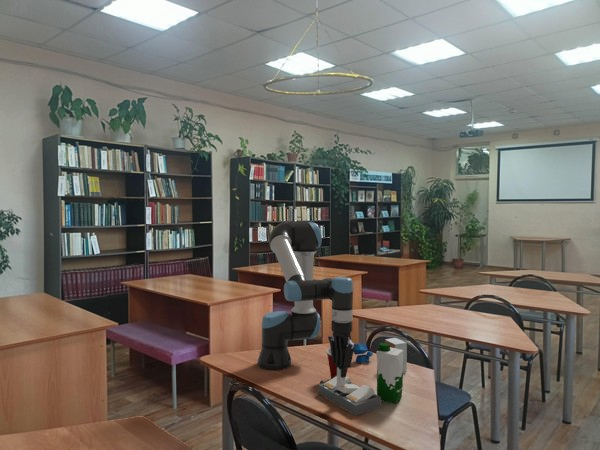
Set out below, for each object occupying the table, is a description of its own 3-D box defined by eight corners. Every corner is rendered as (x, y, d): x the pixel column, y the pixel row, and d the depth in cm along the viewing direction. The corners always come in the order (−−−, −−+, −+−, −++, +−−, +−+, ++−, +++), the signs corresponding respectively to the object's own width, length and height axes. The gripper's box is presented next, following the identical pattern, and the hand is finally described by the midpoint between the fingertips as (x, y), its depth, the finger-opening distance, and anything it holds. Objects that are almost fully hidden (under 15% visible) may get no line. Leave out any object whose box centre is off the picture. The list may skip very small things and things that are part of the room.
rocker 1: (324, 388, 159) (323, 383, 159) (342, 377, 164) (341, 372, 164) (332, 392, 155) (331, 388, 155) (350, 381, 160) (349, 377, 160)
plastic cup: (350, 386, 167) (351, 356, 166) (323, 384, 169) (324, 354, 168) (353, 376, 177) (353, 348, 177) (327, 374, 179) (327, 346, 179)
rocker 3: (346, 401, 148) (345, 396, 148) (365, 388, 153) (364, 384, 153) (356, 406, 144) (355, 401, 144) (374, 393, 149) (373, 388, 149)
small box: (383, 368, 187) (384, 339, 187) (395, 366, 190) (396, 337, 189) (394, 374, 180) (395, 344, 179) (406, 372, 182) (407, 342, 182)
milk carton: (382, 391, 162) (382, 340, 162) (405, 397, 157) (405, 344, 157) (373, 399, 155) (374, 346, 154) (397, 405, 150) (398, 350, 149)
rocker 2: (335, 388, 154) (336, 382, 154) (353, 388, 159) (354, 383, 159) (344, 393, 150) (345, 387, 150) (362, 393, 155) (363, 388, 155)
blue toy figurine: (377, 346, 196) (360, 345, 189) (374, 365, 195) (357, 364, 188) (365, 342, 202) (348, 341, 194) (362, 360, 201) (345, 360, 193)
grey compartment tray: (309, 388, 164) (309, 379, 164) (333, 381, 171) (333, 372, 171) (355, 415, 142) (355, 405, 142) (380, 406, 149) (381, 396, 149)
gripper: (322, 318, 155) (321, 381, 155) (345, 325, 144) (344, 393, 144) (338, 315, 159) (337, 377, 159) (362, 322, 148) (360, 389, 149)
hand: (340, 385), depth 152 cm, fingers closed
